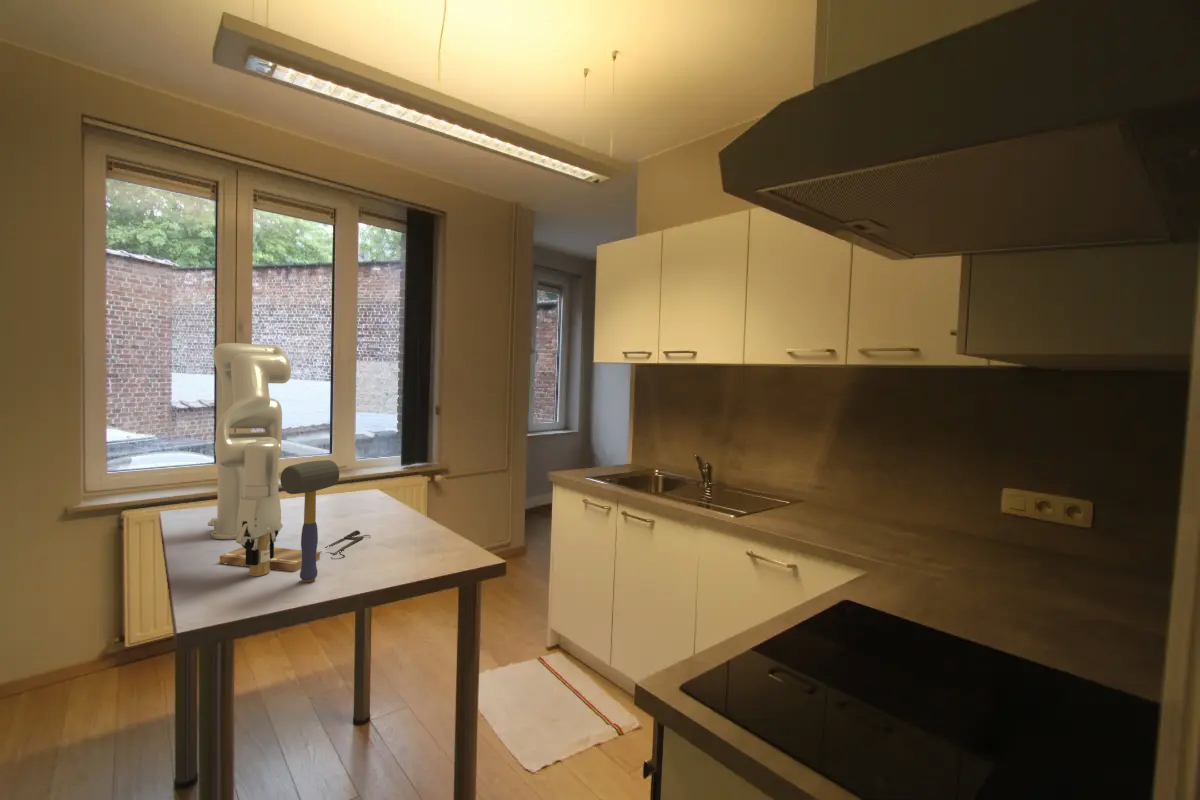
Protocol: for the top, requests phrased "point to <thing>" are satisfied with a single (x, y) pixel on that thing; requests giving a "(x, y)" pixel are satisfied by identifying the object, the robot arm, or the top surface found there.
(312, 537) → the rubber mallet
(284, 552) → the board
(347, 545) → the hacksaw
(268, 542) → the sprinkles bottle
